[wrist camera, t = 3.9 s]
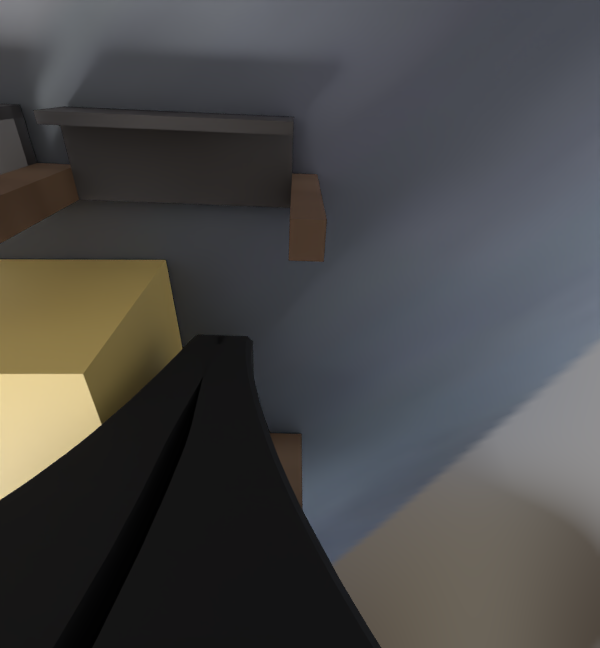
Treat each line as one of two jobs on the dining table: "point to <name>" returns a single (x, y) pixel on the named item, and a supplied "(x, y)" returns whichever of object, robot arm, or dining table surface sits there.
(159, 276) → the ochre block
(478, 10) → the dining table surface
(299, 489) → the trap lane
